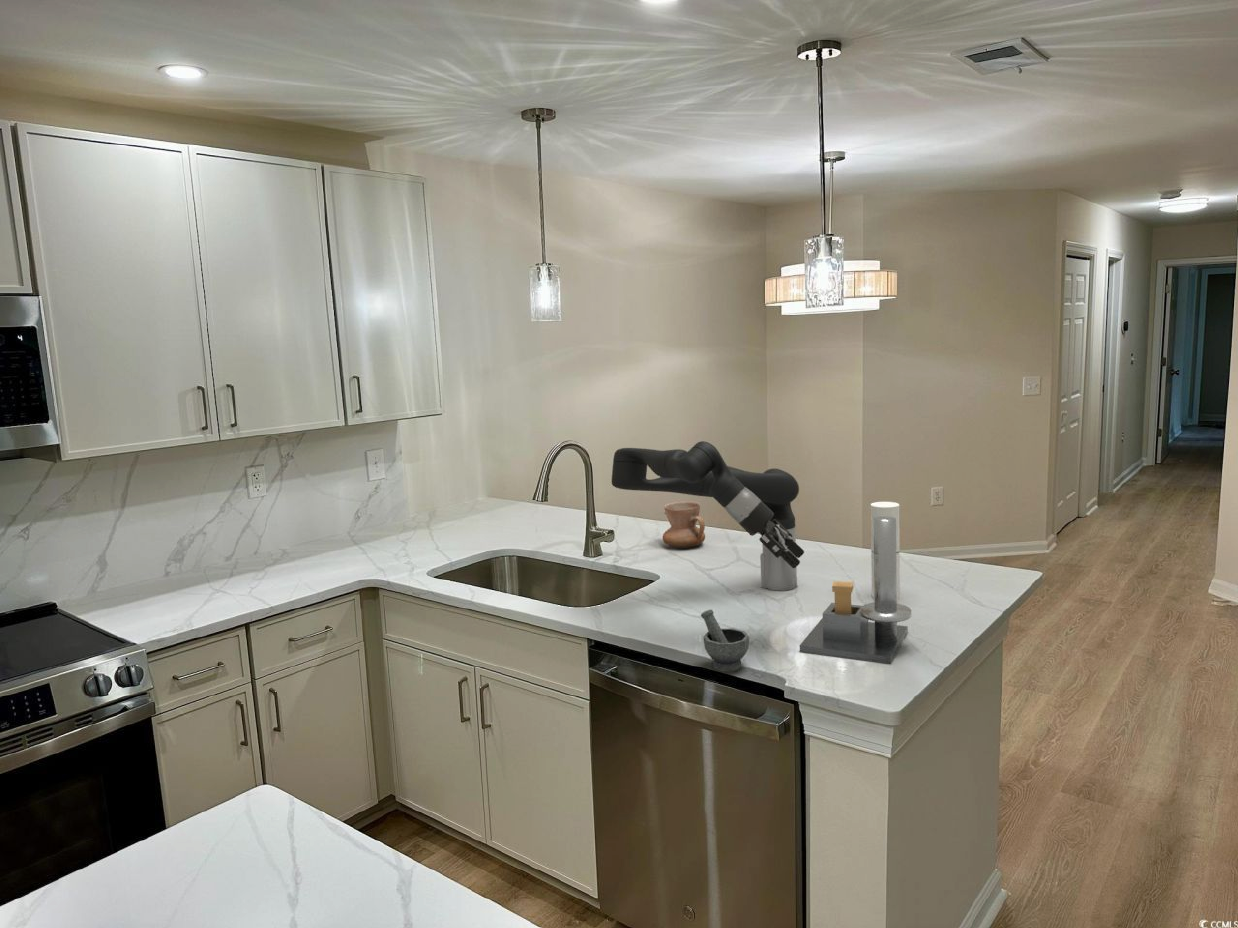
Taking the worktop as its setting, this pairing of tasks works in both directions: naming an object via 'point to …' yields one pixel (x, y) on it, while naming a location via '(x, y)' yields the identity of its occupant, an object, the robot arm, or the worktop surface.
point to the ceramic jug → (684, 525)
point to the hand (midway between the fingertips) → (799, 560)
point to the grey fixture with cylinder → (867, 612)
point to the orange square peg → (842, 596)
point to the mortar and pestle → (724, 644)
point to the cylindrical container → (893, 511)
